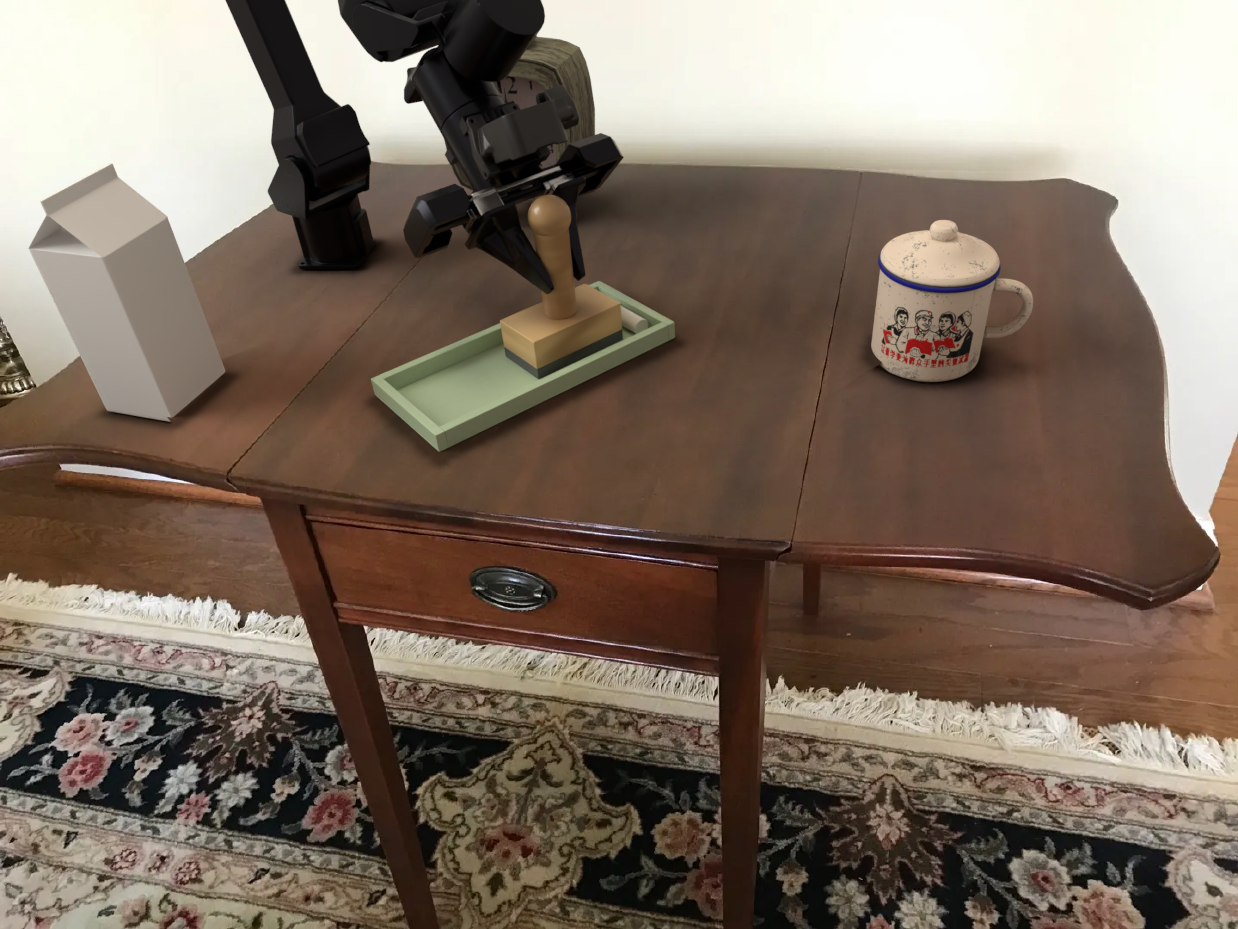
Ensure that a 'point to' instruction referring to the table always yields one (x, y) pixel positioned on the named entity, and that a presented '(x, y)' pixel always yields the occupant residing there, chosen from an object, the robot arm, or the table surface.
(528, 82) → the tabletop clock
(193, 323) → the milk carton
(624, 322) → the chalk
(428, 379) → the tray
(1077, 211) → the table surface
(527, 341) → the wooden rubber stamp
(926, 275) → the teacup with lid
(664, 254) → the table surface
